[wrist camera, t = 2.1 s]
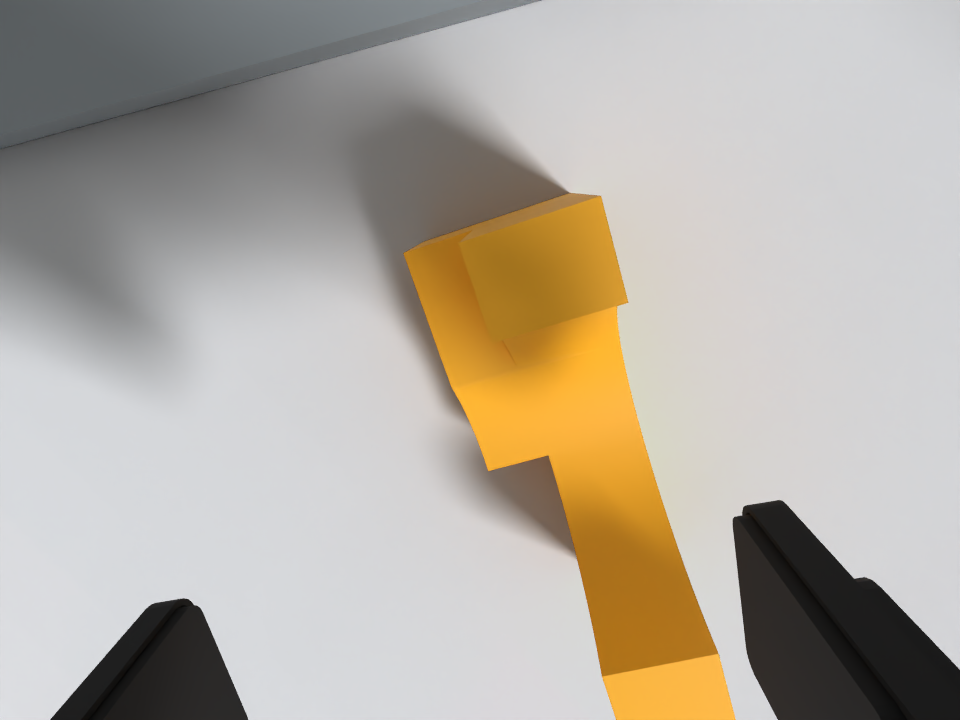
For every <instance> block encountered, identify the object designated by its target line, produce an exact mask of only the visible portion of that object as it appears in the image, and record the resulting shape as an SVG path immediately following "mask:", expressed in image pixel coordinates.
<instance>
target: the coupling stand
mask: <svg viewBox="0 0 960 720" xmlns="http://www.w3.org/2000/svg"><path fill="white" fill-rule="evenodd" d="M537 1H541V0H0V149H1V148H5V147H8V146H12V145H16V144H19V143H23V142H27V141H30V140H34V139H38V138H41V137H45V136H49V135H52V134H56V133H59V132H63V131H67V130H70V129H74V128H78V127H81V126H85V125H89V124H92V123H96V122H100V121H103V120H107V119H111V118H114V117H118V116H121V115H125V114H129V113H132V112H136V111H140V110H143V109H147V108H151V107H154V106H158V105H162V104H165V103H169V102H173V101H176V100H180V99H183V98H187V97H191V96H194V95H198V94H202V93H205V92H209V91H213V90H216V89H220V88H224V87H227V86H231V85H235V84H238V83H242V82H245V81H249V80H253V79H256V78H260V77H264V76H267V75H271V74H275V73H278V72H282V71H286V70H289V69H293V68H296V67H300V66H304V65H307V64H311V63H315V62H318V61H322V60H326V59H329V58H333V57H337V56H340V55H344V54H348V53H351V52H355V51H358V50H362V49H366V48H369V47H373V46H377V45H380V44H384V43H388V42H391V41H395V40H399V39H402V38H406V37H410V36H413V35H417V34H420V33H424V32H428V31H431V30H435V29H439V28H442V27H446V26H450V25H453V24H457V23H461V22H464V21H468V20H472V19H475V18H479V17H482V16H486V15H490V14H493V13H497V12H501V11H504V10H508V9H512V8H515V7H519V6H523V5H526V4H530V3H534V2H537Z"/></svg>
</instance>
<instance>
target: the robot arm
mask: <svg viewBox="0 0 960 720" xmlns="http://www.w3.org/2000/svg"><path fill="white" fill-rule="evenodd" d="M742 515H743V516H737V517H734V518H733V532H734V541H735V550H736V559H737V569H738V578H739V587H740V596H741V605H742V614H743V624H744V633H745V642H746V650H747V655H748V659H749V662H750V665H751V668H752V670H753V672H754V675H755V677H756V679H757V680H758V682H759V684H760V686H761V688H762V690H763V692H764V694H765V696H766V698H767V700H768V702H769V704H770V705H771V707H772V709H773V711H774V713H775V715H776V717H777V719H778V720H960V670H959V669H958V667H957V666H956V665H955V664H954V663H953V662H952V661H951V660H950V659H949V658H948V657H947V656H946V655H945V654H944V653H943V652H942V651H941V650H940V649H939V648H938V647H937V646H936V645H935V643H934V642H933V641H932V640H931V639H930V638H929V637H928V636H927V635H926V634H925V633H924V632H923V631H922V630H921V629H920V628H919V627H918V626H917V625H916V624H915V623H914V622H913V621H912V619H911V618H910V617H909V616H908V615H907V614H906V613H905V612H904V611H903V610H902V609H901V608H900V607H899V606H898V605H897V604H896V603H895V602H894V601H893V600H892V599H891V598H890V596H889V595H888V594H887V593H886V592H885V591H884V590H883V589H882V588H881V587H880V586H879V585H877V584H876V583H875V582H874V581H873V580H870V579H868V578H865V577H863V578H857V579H854V578H853V577H852V576H851V575H850V574H849V573H848V572H847V570H846V569H845V568H844V567H843V566H842V565H841V564H840V563H839V562H838V561H837V559H836V558H835V557H834V556H833V555H832V554H831V553H830V552H829V551H828V550H827V549H826V547H825V546H824V545H823V544H822V543H821V542H820V541H819V540H818V539H817V538H816V536H815V535H814V534H813V533H812V532H811V531H810V530H809V529H808V528H807V527H806V525H805V524H804V523H803V522H802V521H801V520H800V519H799V518H798V517H797V516H796V514H795V513H794V512H793V511H792V510H791V509H790V508H789V507H788V506H787V505H786V504H785V503H784V502H783V501H781V500H777V501H771V502H765V503H759V504H753V505H747V506H744V507H743V511H742ZM50 720H248V717H247V715H246V713H245V710H244V708H243V706H242V703H241V701H240V698H239V696H238V694H237V691H236V689H235V687H234V684H233V682H232V680H231V677H230V675H229V673H228V670H227V668H226V666H225V663H224V661H223V659H222V656H221V654H220V652H219V649H218V647H217V645H216V642H215V640H214V638H213V635H212V633H211V631H210V628H209V626H208V623H207V621H206V619H205V616H204V614H203V612H202V610H201V609H200V608H199V607H198V606H195V605H193V603H192V602H191V601H190V600H188V599H177V600H171V601H165V602H159V603H155V604H152V605H150V606H149V607H148V608H147V609H146V610H145V611H144V612H143V613H142V614H141V615H140V617H139V618H138V619H137V620H136V621H135V622H134V623H133V625H132V626H131V627H130V628H129V629H128V630H127V632H126V633H125V634H124V635H123V636H122V637H121V638H120V640H119V641H118V642H117V643H116V644H115V645H114V647H113V648H112V649H111V650H110V651H109V652H108V654H107V655H106V656H105V657H104V658H103V659H102V660H101V662H100V663H99V664H98V665H97V666H96V667H95V669H94V670H93V671H92V672H91V673H90V674H89V675H88V677H87V678H86V679H85V680H84V681H83V682H82V684H81V685H80V686H79V687H78V688H77V689H76V691H75V692H74V693H73V694H72V695H71V696H70V697H69V699H68V700H67V701H66V702H65V703H64V704H63V706H62V707H61V708H60V709H59V710H58V711H57V712H56V714H55V715H54V716H53V717H52V718H51V719H50Z"/></svg>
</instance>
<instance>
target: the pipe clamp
mask: <svg viewBox="0 0 960 720" xmlns="http://www.w3.org/2000/svg"><path fill="white" fill-rule="evenodd" d="M403 254H404V257H405V259H406V262H407V265H408V268H409V271H410V273H411V276H412V279H413V282H414V284H415V287H416V290H417V293H418V296H419V298H420V301H421V304H422V307H423V310H424V312H425V315H426V318H427V321H428V323H429V326H430V329H431V332H432V335H433V337H434V340H435V343H436V346H437V349H438V351H439V354H440V357H441V360H442V362H443V365H444V368H445V371H446V374H447V376H448V379H449V382H450V385H451V387H452V389H453V391H454V392H455V394H456V396H457V398H458V399H459V401H460V403H461V405H462V407H463V409H464V411H465V413H466V415H467V417H468V420H469V422H470V424H471V426H472V429H473V431H474V433H475V436H476V438H477V441H478V444H479V446H480V449H481V451H482V454H483V457H484V460H485V463H486V466H487V469H488V471H491V470H494V469H498V468H502V467H506V466H510V465H514V464H517V463H521V462H525V461H529V460H533V459H536V458H540V457H544V456H548V455H549V459H550V462H551V465H552V469H553V472H554V475H555V479H556V482H557V486H558V489H559V493H560V496H561V500H562V503H563V507H564V511H565V514H566V518H567V522H568V525H569V529H570V533H571V537H572V541H573V545H574V549H575V553H576V557H577V561H578V565H579V569H580V573H581V577H582V581H583V586H584V590H585V594H586V599H587V603H588V608H589V612H590V617H591V622H592V626H593V631H594V636H595V641H596V646H597V652H598V657H599V662H600V668H601V674H602V678H603V681H604V684H605V687H606V690H607V693H608V696H609V699H610V702H611V705H612V708H613V711H614V714H615V717H616V720H735V716H734V712H733V708H732V704H731V700H730V696H729V692H728V688H727V685H726V681H725V677H724V673H723V669H722V665H721V661H720V657H719V654H718V651H717V649H716V646H715V644H714V642H713V639H712V637H711V634H710V632H709V629H708V627H707V624H706V622H705V619H704V617H703V614H702V612H701V609H700V607H699V604H698V601H697V599H696V596H695V594H694V591H693V588H692V586H691V583H690V580H689V577H688V575H687V572H686V569H685V566H684V564H683V561H682V558H681V555H680V552H679V549H678V547H677V544H676V541H675V538H674V535H673V532H672V529H671V526H670V523H669V520H668V517H667V514H666V511H665V508H664V505H663V502H662V499H661V496H660V492H659V489H658V486H657V483H656V480H655V477H654V473H653V470H652V467H651V463H650V460H649V457H648V453H647V450H646V446H645V443H644V440H643V436H642V432H641V429H640V425H639V422H638V418H637V414H636V410H635V407H634V403H633V399H632V395H631V391H630V387H629V382H628V378H627V374H626V369H625V365H624V360H623V355H622V350H621V344H620V338H619V331H618V322H617V306H618V305H622V304H625V303H628V299H627V295H626V292H625V288H624V284H623V280H622V276H621V272H620V268H619V264H618V260H617V256H616V253H615V249H614V245H613V241H612V237H611V233H610V229H609V225H608V221H607V218H606V214H605V210H604V206H603V202H602V198H601V196H597V195H586V194H575V193H568V194H565V195H562V196H559V197H556V198H553V199H550V200H547V201H544V202H541V203H538V204H535V205H532V206H529V207H526V208H523V209H520V210H517V211H514V212H511V213H508V214H505V215H502V216H499V217H496V218H493V219H490V220H487V221H484V222H481V223H478V224H475V225H472V226H469V227H466V228H463V229H460V230H457V231H454V232H451V233H448V234H445V235H442V236H439V237H436V238H433V239H430V240H427V241H424V242H422V243H421V244H419V245H417V246H415V247H413V248H412V249H410V250H408V251H406V252H404V253H403Z"/></svg>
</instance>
